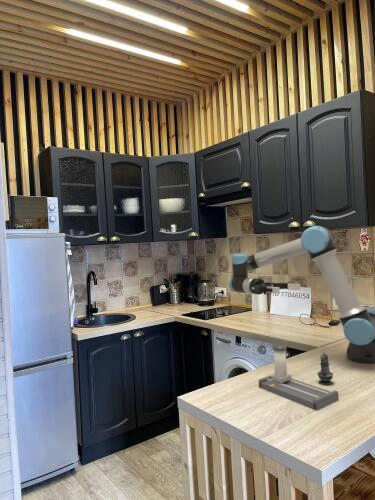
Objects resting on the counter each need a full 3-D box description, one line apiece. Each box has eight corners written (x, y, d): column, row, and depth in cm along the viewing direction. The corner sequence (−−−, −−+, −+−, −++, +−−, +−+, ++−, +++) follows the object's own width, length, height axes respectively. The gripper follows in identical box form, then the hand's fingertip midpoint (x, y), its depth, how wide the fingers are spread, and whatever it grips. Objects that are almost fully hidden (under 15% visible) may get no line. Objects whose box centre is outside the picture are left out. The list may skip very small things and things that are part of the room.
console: (280, 379, 146) (279, 372, 146) (338, 399, 124) (338, 391, 124) (258, 387, 139) (258, 379, 139) (316, 410, 118) (316, 401, 118)
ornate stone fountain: (329, 379, 143) (328, 349, 143) (336, 385, 137) (335, 353, 137) (315, 380, 143) (313, 350, 143) (321, 386, 137) (319, 354, 137)
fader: (281, 375, 141) (279, 343, 141) (291, 379, 137) (290, 346, 137) (270, 379, 138) (268, 346, 138) (281, 383, 134) (279, 349, 134)
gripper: (272, 291, 181) (308, 294, 163) (235, 297, 167) (270, 301, 149) (272, 276, 181) (307, 277, 163) (234, 280, 166) (269, 283, 149)
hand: (289, 288), depth 156 cm, fingers open, 13 cm apart
